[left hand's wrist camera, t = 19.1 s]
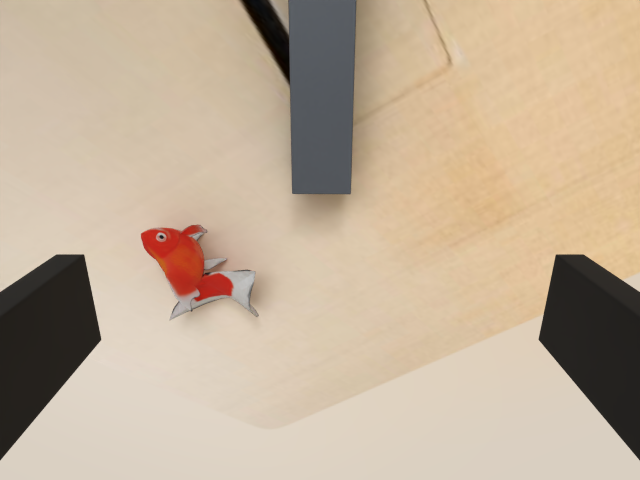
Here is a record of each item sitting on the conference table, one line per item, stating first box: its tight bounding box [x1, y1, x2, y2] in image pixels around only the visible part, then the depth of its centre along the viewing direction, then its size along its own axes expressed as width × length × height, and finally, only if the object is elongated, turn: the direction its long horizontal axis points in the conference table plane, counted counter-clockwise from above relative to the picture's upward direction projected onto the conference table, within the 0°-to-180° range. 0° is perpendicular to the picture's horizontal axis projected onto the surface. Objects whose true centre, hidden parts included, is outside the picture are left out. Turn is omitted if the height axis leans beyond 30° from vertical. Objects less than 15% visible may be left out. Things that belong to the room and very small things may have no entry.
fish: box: [141, 225, 259, 320], centre depth 48 cm, size 11×16×10 cm
